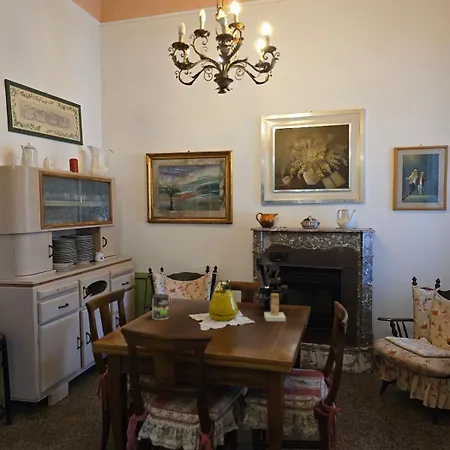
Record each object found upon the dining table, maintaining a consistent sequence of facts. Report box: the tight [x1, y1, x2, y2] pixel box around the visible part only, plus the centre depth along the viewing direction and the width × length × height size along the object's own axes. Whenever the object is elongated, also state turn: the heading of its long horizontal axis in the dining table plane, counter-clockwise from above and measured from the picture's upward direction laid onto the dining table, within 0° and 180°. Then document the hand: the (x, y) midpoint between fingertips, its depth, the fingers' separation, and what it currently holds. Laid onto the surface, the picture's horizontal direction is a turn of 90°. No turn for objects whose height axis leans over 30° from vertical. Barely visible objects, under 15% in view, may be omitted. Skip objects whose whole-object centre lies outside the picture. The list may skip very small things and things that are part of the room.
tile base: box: [263, 311, 287, 322], centre depth 272 cm, size 12×12×2 cm
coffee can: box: [151, 293, 170, 321], centre depth 270 cm, size 10×10×14 cm
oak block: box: [270, 292, 280, 316], centre depth 271 cm, size 4×4×13 cm
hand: (273, 300), depth 275 cm, fingers open, 9 cm apart
